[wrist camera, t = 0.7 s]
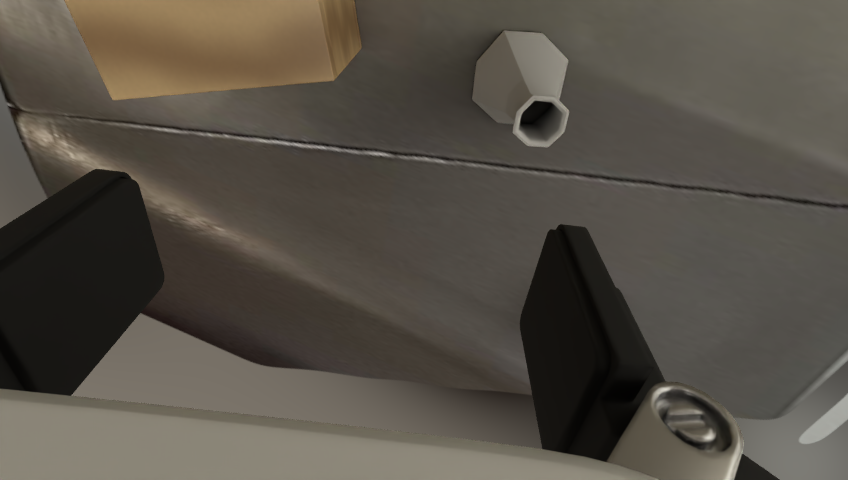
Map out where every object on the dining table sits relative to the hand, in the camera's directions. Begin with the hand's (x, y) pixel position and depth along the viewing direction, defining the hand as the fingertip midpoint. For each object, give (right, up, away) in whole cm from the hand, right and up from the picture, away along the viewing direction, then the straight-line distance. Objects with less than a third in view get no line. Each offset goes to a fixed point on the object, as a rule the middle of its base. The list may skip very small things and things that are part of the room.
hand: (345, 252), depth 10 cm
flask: (+9, +13, +24) cm, 29 cm away
